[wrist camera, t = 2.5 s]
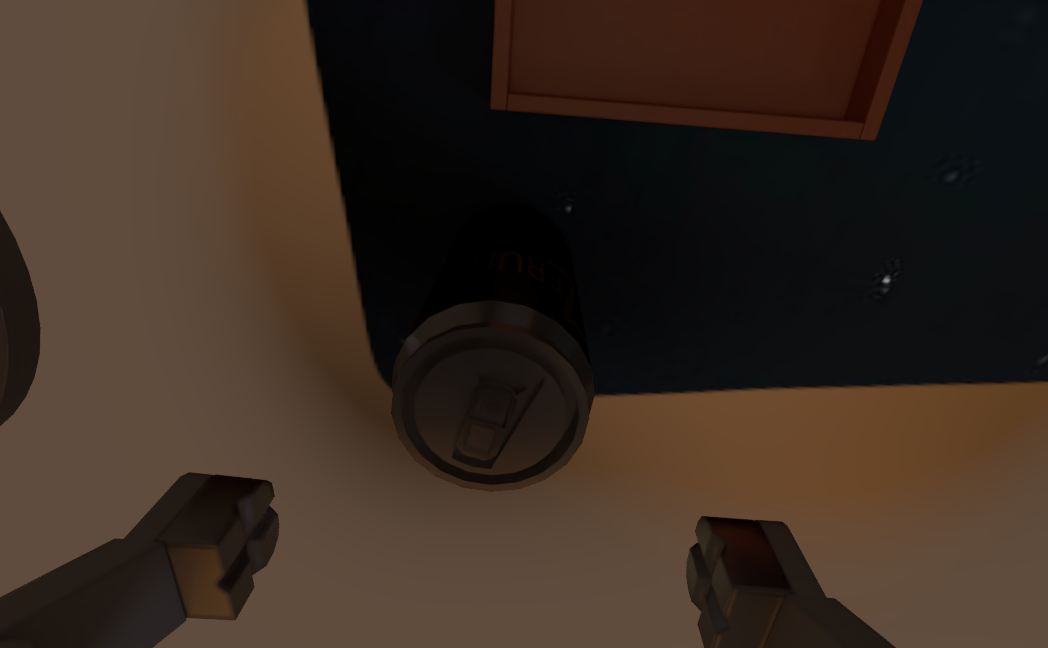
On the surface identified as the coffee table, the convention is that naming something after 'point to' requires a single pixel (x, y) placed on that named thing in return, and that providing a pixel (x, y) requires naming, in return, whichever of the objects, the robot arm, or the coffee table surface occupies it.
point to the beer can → (497, 358)
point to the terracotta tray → (704, 61)
